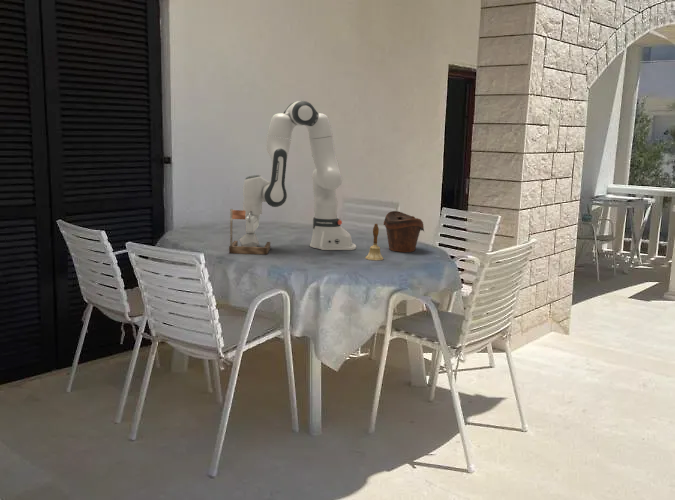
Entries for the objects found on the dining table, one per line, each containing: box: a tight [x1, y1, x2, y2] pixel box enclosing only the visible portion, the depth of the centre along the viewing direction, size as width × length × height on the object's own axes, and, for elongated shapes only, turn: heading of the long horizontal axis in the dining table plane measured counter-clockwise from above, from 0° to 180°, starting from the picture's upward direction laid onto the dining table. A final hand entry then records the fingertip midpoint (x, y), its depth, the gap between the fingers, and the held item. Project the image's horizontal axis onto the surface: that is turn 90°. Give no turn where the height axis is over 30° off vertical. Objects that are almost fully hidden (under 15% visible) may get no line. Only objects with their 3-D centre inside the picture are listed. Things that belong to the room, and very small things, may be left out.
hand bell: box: [364, 223, 384, 261], centre depth 301 cm, size 8×8×16 cm
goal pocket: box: [228, 208, 271, 256], centre depth 308 cm, size 17×16×20 cm
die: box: [238, 232, 260, 247], centre depth 311 cm, size 8×9×10 cm
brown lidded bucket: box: [383, 210, 425, 253], centre depth 324 cm, size 18×20×18 cm
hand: (252, 239), depth 316 cm, fingers closed
